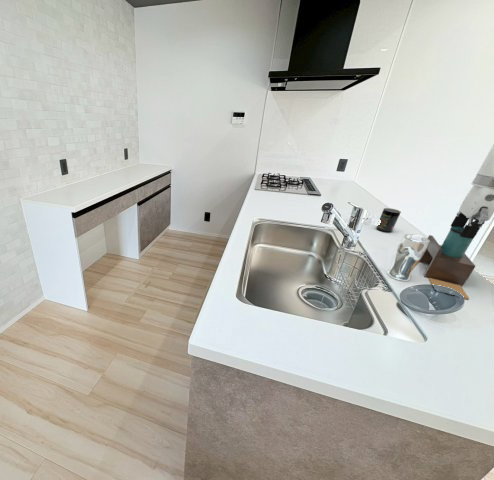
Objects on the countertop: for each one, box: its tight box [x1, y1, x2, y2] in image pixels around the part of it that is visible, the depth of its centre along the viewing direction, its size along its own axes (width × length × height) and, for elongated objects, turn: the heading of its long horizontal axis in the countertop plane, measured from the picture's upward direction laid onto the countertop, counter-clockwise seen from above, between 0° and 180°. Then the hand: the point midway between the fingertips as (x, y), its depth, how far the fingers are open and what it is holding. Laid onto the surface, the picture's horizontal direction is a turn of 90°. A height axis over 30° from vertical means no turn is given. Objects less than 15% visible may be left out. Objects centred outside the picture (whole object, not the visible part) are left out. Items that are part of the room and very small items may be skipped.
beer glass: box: [387, 233, 430, 282], centre depth 88 cm, size 7×7×15 cm
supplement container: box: [375, 207, 402, 234], centre depth 127 cm, size 7×7×10 cm
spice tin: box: [441, 226, 477, 258], centre depth 89 cm, size 6×6×9 cm
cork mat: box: [428, 278, 470, 301], centre depth 85 cm, size 8×8×1 cm
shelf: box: [419, 234, 476, 287], centre depth 92 cm, size 10×14×11 cm
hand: (461, 232), depth 87 cm, fingers open, 9 cm apart
